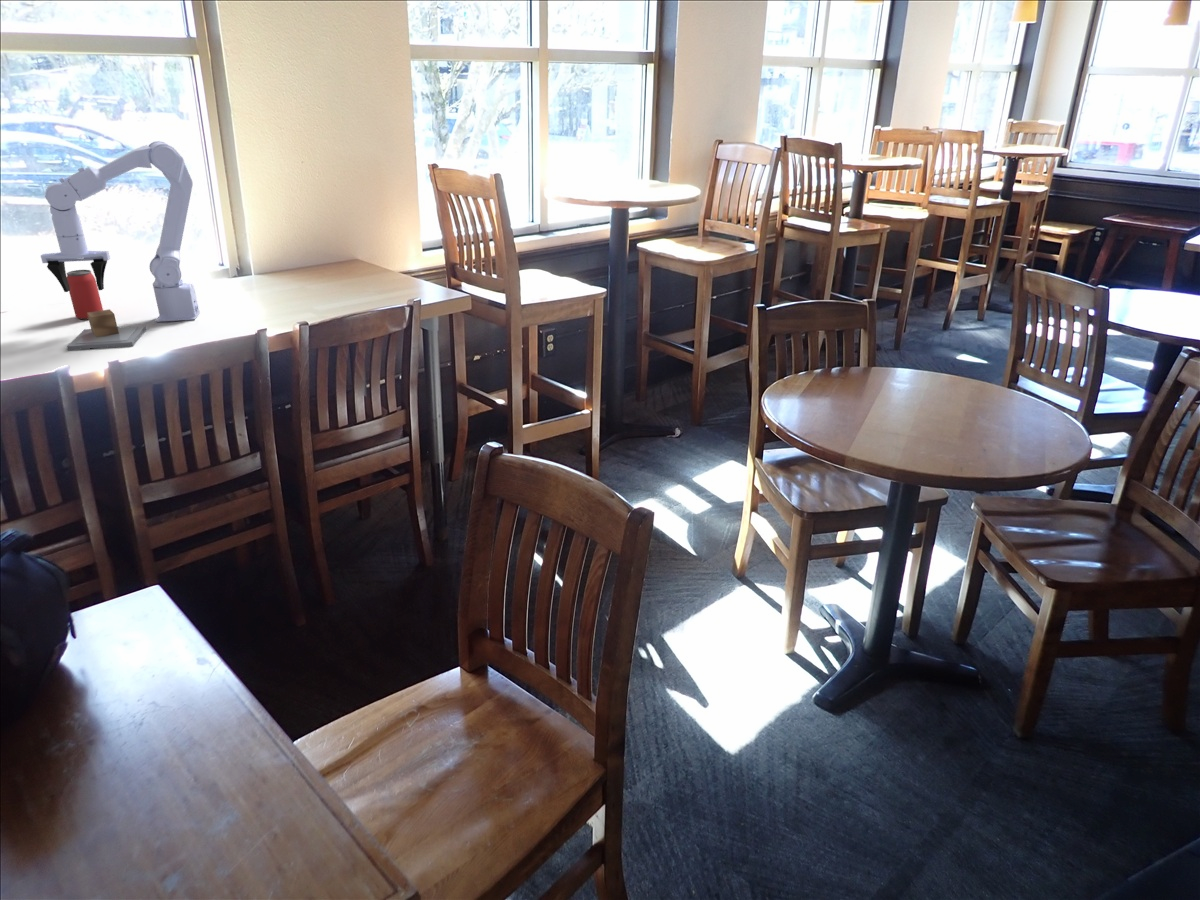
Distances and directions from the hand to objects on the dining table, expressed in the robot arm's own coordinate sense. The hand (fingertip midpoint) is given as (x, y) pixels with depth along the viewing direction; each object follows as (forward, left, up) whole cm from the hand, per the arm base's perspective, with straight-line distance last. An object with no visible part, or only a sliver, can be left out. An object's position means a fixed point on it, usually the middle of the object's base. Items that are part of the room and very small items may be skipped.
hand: (84, 290), depth 209 cm
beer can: (+4, -12, -10) cm, 16 cm away
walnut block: (-5, +9, -9) cm, 13 cm away
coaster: (-6, +11, -10) cm, 16 cm away
